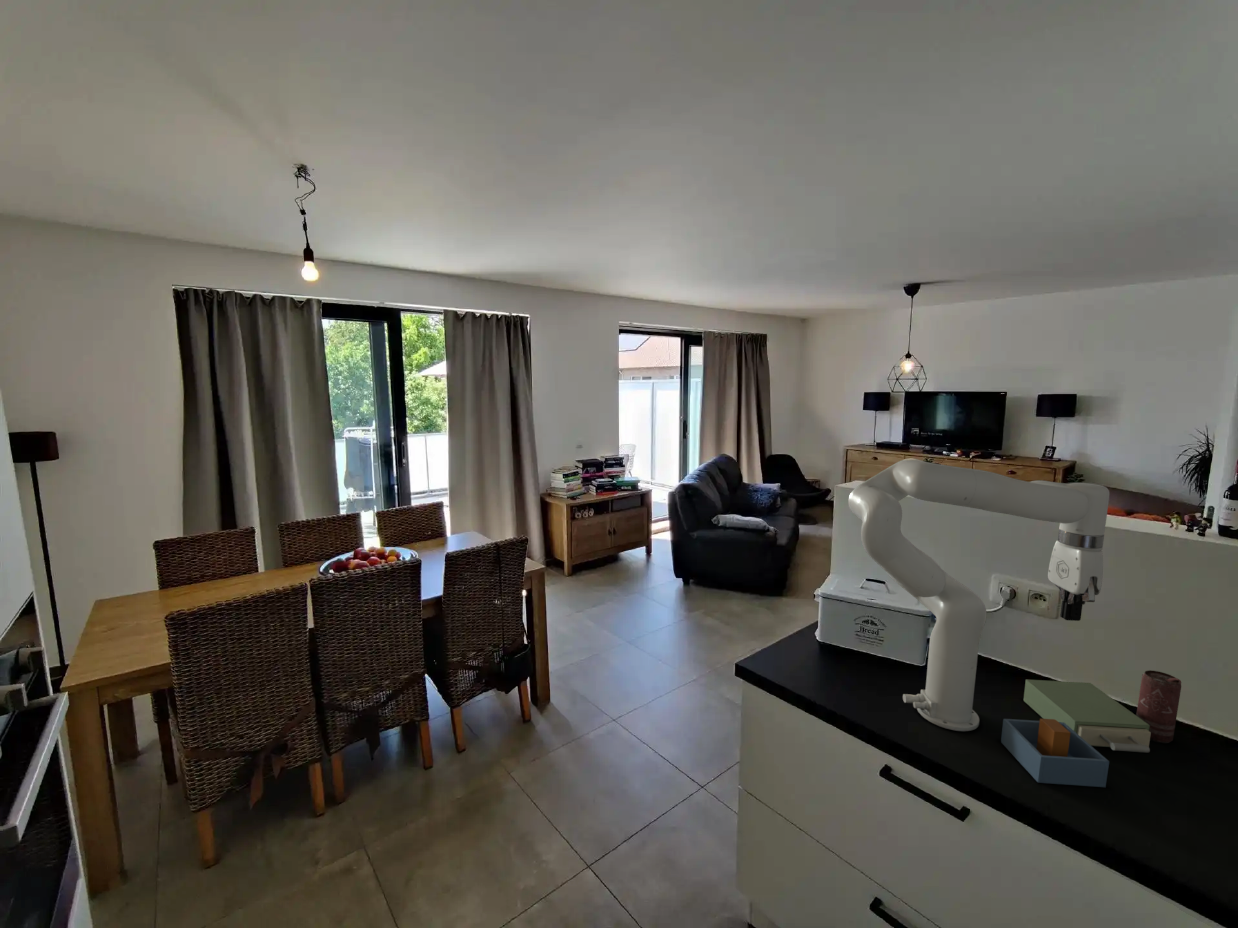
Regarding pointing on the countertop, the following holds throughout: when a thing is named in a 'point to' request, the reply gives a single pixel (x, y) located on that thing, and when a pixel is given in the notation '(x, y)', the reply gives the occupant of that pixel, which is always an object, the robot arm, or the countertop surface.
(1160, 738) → the can
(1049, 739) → the orange brown brick
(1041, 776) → the bin
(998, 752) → the countertop surface
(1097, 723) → the cabinet
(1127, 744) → the drawer
